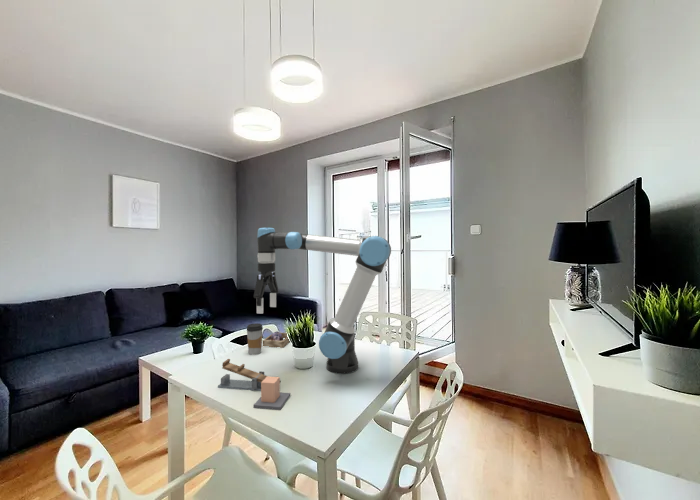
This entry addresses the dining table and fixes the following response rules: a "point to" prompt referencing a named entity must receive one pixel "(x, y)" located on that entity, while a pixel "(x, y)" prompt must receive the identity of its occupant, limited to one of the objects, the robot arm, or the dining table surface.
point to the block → (270, 389)
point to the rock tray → (276, 343)
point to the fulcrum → (240, 383)
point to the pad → (276, 406)
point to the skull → (276, 336)
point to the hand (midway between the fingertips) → (266, 310)
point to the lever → (243, 371)
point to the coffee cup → (254, 338)
